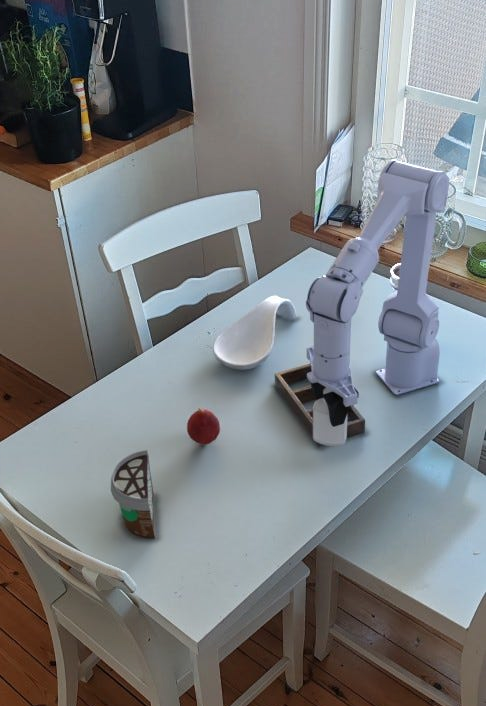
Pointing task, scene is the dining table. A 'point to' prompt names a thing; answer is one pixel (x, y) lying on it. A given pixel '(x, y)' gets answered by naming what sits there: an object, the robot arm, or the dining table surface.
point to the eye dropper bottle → (327, 425)
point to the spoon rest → (252, 335)
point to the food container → (135, 494)
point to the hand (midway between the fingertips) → (330, 414)
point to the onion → (203, 426)
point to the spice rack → (307, 395)
